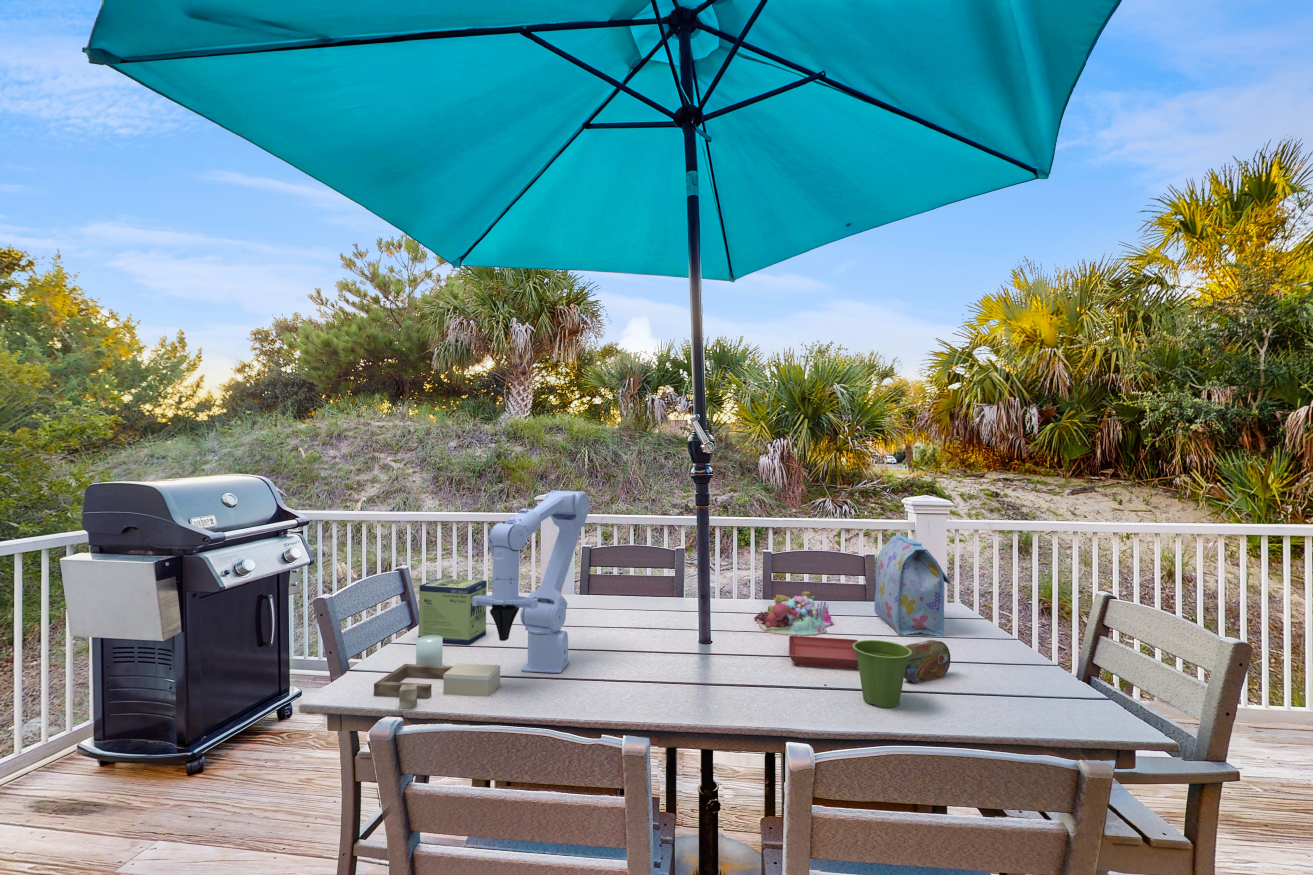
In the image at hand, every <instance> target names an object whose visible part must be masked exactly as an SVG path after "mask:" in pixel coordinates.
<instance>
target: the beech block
mask: <svg viewBox="0 0 1313 875" xmlns="http://www.w3.org/2000/svg"><path fill="white" fill-rule="evenodd" d="M398 699H399V703H398V704H399V705H398V708H399V709H408V710H415V709H416V707H417V704H418V698H417V684H410V685H402V686H401V688H400V691H399V697H398ZM414 708H415V709H414ZM399 709H398V710H399Z"/></svg>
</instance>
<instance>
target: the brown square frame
mask: <svg viewBox="0 0 1313 875" xmlns="http://www.w3.org/2000/svg"><path fill="white" fill-rule="evenodd" d="M454 666H455V665H454ZM454 666H453V665H442V666H438V665H418V664H416V663H415V664H414V663H404V664H403V665H401V666H400V667H398V668H396V669H395V670H393V671H391V672H389V673H388V674H387V675H385V676H384V677H382V678H381V679H379V680H377V681H376V682H374V684H373V697H374V696H377V697H378V696H379V697H390V698H391V697H394V698H399V691H400V688H401V686H402V685H410V684H417V699H425V700H427V699H429V698H430V697H431V696H432V683H416V682H414V683H413V682H402V681H403V680H405V679H406V678H415V679H416V678H419V679H437V680H444V678H443V675H444V673H446V672H447V671H448V670H450V669H451V668H452V667H454Z"/></svg>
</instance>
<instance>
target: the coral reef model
mask: <svg viewBox="0 0 1313 875" xmlns="http://www.w3.org/2000/svg"><path fill="white" fill-rule="evenodd" d="M773 600H774V605H768V607H767V611H761V612H759V613H758V614H757V615H755V616H754V617H753V619H754V621H755V622H756V624H758V627H759V629H760V630H762V631H763V632H765V633H768V634H773V635H779V636H804V637H816V636H818V635H823V634H826V633H827V628H829V627H831V626H833V625H834V622H833V621H832V616H831V614H830V612H829V604H827V602H826V601H824V602H823V600H821V601H820V604H819V603H817V606H815V595H813V596H811V592H810V591H802V592H801V595H794V597H789V596H786V595H784V594H783V595H782V594H775V596H773Z"/></svg>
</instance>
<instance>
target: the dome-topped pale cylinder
mask: <svg viewBox="0 0 1313 875" xmlns="http://www.w3.org/2000/svg"><path fill="white" fill-rule="evenodd" d="M415 643H416V644H415V648H416V649H415V664H418V665H438V666H443V644H444V643H443V637H442V636H439V635H427V636H422V637H419V638H418V637H417V638H416V639H415Z"/></svg>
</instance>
